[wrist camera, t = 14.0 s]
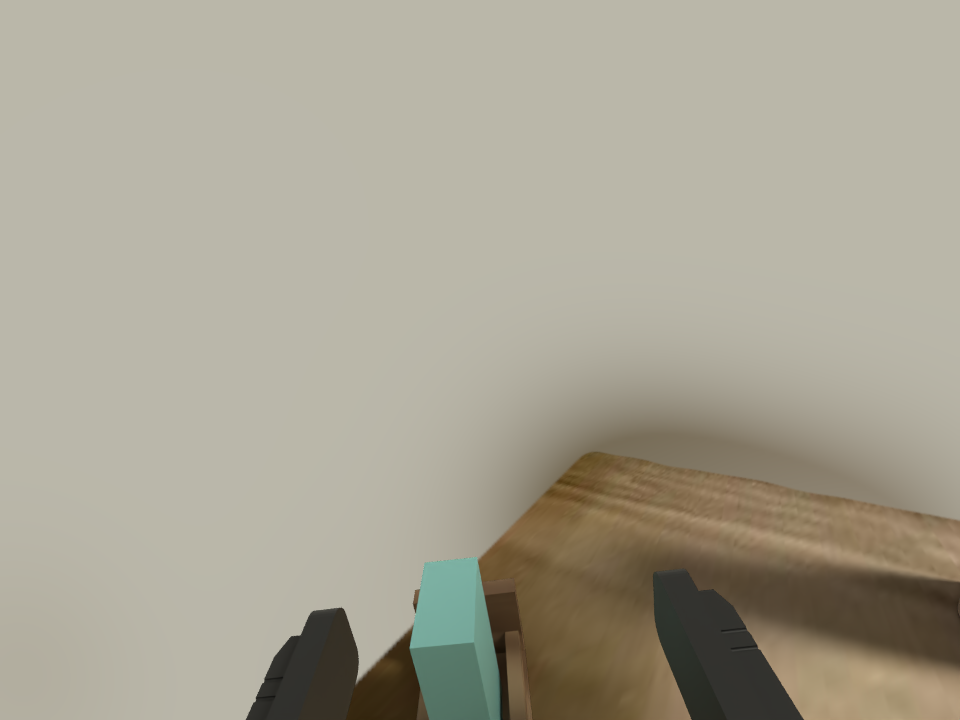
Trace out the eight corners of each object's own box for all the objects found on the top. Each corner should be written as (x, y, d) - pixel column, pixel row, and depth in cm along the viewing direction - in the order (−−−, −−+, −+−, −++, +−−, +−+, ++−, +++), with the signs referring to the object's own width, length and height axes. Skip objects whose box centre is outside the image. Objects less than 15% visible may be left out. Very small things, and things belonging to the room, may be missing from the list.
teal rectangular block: (455, 691, 39) (424, 562, 35) (501, 687, 39) (476, 557, 34) (449, 791, 32) (409, 648, 28) (504, 787, 32) (473, 642, 28)
